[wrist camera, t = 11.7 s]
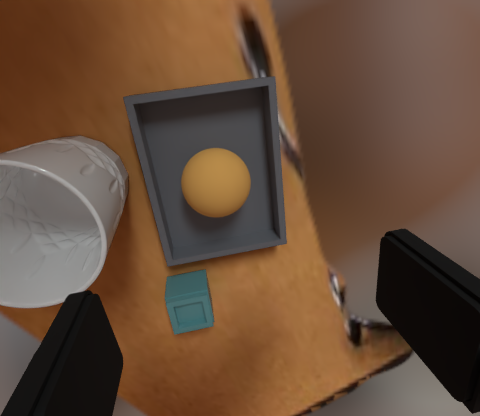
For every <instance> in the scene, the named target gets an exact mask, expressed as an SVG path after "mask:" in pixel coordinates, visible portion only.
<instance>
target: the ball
mask: <svg viewBox="0 0 480 416" xmlns="http://www.w3.org/2000/svg"><path fill="white" fill-rule="evenodd" d="M250 186H251V179H250V174H249V171H248V168H247V166H246V165H245V163H244V162H243V161H242V159H241V158H240V157H239V156H237V155H236V154H235V153H233V152H231V151H229V150H226V149H222V148H209V149H205V150H203V151H200V152H199V153H197V154H195V155H194V156H193V157H192V158H191V159H190V160H189V161H188V162H187V164H186V166H185V168H184V170H183V173H182V177H181V187H182V192H183V195H184V197H185V199H186V201H187V203H188V204H189V205H190V206H191V207H192V208H193V209H194V210H195V211H197V212H198V213H200V214H202V215H204V216H208V217H224V216H228V215H230V214H232V213H234V212H236V211H237V210H238V209H239V208H241V206H242V205H243V204H244V203H245V201H246V199H247V197H248V195H249V192H250Z"/></svg>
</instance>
